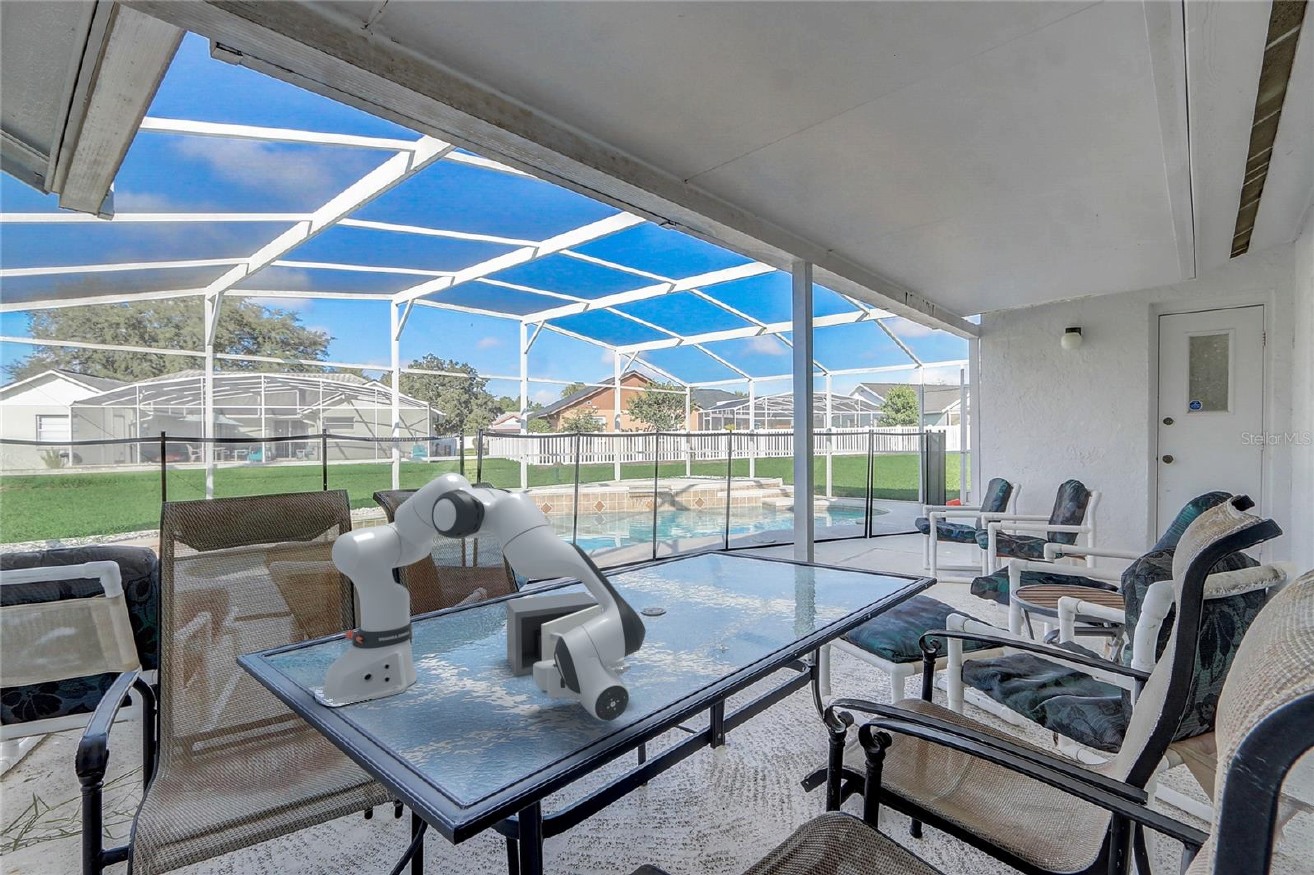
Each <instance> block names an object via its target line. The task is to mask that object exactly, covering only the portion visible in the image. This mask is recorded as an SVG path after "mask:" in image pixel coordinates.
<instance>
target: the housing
mask: <svg viewBox="0 0 1314 875" xmlns="http://www.w3.org/2000/svg"><path fill="white" fill-rule="evenodd" d="M596 605H600V604H599V603H598V601H597V600H596V599H595V598H594V597H593V596H591V595H589V594H588V593H586V592H585V591H581V592H579V591H578V592H572V593H570V592H569V593H563V594H553V595H551V594H550V595H544V596H535V597H527V598H516V599H508V600H506V645H507V646H506V654H507V656H506V657H507V658H506V659H507V662H508V664H509V665H510V667H511V670H512V671H513V673H514V675H515V677H522V676H529V675H533V665H534V663H536V662H540V661H542V632H541V624H544V623H547V622H550V621H553V620H556V619H558V618H561V617H564V616H567V615H570V614H573V613H576V612H579V611H582V610H584V609H587V608H590V607H593V606H596Z"/></svg>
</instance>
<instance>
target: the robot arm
mask: <svg viewBox="0 0 1314 875" xmlns="http://www.w3.org/2000/svg"><path fill="white" fill-rule="evenodd" d="M438 535H440V536H442V537H444V538H448V539H455V540H459V539H477V538H480V539H481V538H484V537H492V536H494V537H495V539H497V542H498V544H499V546H500V548H501V551H502V553H503V555H504V557H505V558H506V561H508V564H509V566H510V567H511V568H512V570H513V571H514V572H515V574H517V575H519V576H521V577H523V578H526V579H530V580H548V579H556V578H571V579H576V580H578V581H579V582H581V583H582V584H583V585H584V586H585V587H586V589H587V590H588V592H590V594H591V595H592V597H593V599H595V600H596V601H597V602H598V603H599V605H601V606H602V613H601V614H600V615H598V616H596V617H594V618H592V619H591V620H589V621H587V622H585V623H584V624H582V625H579V626H577V627H575V628H574V629H572V630H570V631H568V632H567V633H565V634H563V635H562V636H560V637H559V638H558V640H557V643H556V647H555V651H554V659H553V660H547V661H540V662H536V663H534V665H533V674H532V676H533V677H532V679H533V681H534V683H535V684H536V685H537V687H538V688H540V690H542V691H544V692H546V694H547V698H549V699H571V700H578V701H579V702H580V704H581V705H582V707H583V708H584V709H585V710H586V711H587V712H588V713H589V715H591V716H592V717H594V718H595V719H597V720H599V721H601V722H610V721H613V720H616V719H618V718H619V717H620V716H621V715H623V714H624V713H625V711H626V709H627V707H628V705H629V703H630V702H629V701H630V693H629V689H628V688H627V686H626V684H625V683H624V681H623V679H622V678H621V676H623V675H624V674H625V673H626V672H628V670H631V667H632V666H631V664H630V663H629V662H628V661H627V662H626V661H625V658H626V657H629V656H631V655H632V654H634V653H636V652H638V651H640V650H641V647H642V646H643V643H644V640H645V637H646V627H645V625H644V622H643V620H642V618H641V617H640V615H639V614H638V612H637V611H635V609H634V608H633V607H632V606H631V605H630V604H629V603H628V602H627V601H626V600H625V599H624V598H623V596H622V595H621V594H620V593H619V592H618V591H617V590H616V588H615V587H614V586H613V584H612V583H611V582H610V581H609V579H608V578H607V577H606V575H605V574H604V573H603V572H602V571H601V569H600V568H599V567H598V566H597V565H596V563H595V562H594V561H593V560H592V559H591V557H590V556H589V555H588V554H587V553H586V551H584V549H583V548H581V547H580V546H579V545H578V544H577V543H575V542H567V541H565V540H563V539H561V538H560V537H559V536H557V535H556V533H555V531H553V529H552V527H551V526H550V524H549V521H547V518H546V517H545V515H544V514H543V512H542V511H541V509H540V508H539V507H538V505H537V504H536V502H535V501H533V499H532V498H531V497H530V496H529V495H528V494H527V493H526V492H522V491H511V490H508V489H505V488H489V487H477V488H474V487H473V485H472V484H471V482H470V481H469V479H467V478H466V476H464V475H462V474H461V473H456V472H447V473H444V474H441V475H440V476H438V477H436V478H434V479H432V480H431V481H429V482H427V483H426V484H425V485H423V486H422V487H421V488H419V489H418V490H417V491H416V492H415V493H413V494H412V495H411V496H409V498H407V499H406V500H405V501H404V502H402V503H401V504H400V505H398V507H397V508H396V510H395V512H394V521H393V522H390V523H387V524H382V525H374V526H366V527H360V528H357V529H354V530H351V531H348V532H345V533H342V534H341V535H339V536H338V537H337V538H336V539H335V541H334V543H333V545H332V549H331V559H332V562H333V564H334V566H335V568H336V569H337V570H338V571H339V572H340V573H341V574H343V575H345V576H347V577H348V578H349V579H350V580H351V582H352V583H353V585H354V586H355V588H356V591H357V594H358V598H359V608H360V627H359V629H358V630H356V632H355V631H354V630H351V629H349V630H347V631H346V633H345V634H344V636H345V638H346V639H348V641H349V640H350V641H351V642H352V646H350V647H349V648H348V649H347V650H345V652H344V653H343V654H342V655H340V656H339V657H338V658H337V659H336V660H335V661H334V662H332V663H331V664H330V665H329V667H327V670H326V674H325V680H324V684H323V685H322V686H323V687H322V686H321V687H322V688H319V687H318V688H319V689H317V688H316V689H317V690H323V692H322V693H318V694H324V697H322V698H320V699H326V700H329V699H333V701H331V702H326V703H333V704H338V703H351V702H358V701H362V700H367V701H369V700H368V699H372V700H376V699H381V698H384V697H385V698H386V697H389V696H392V695H397V694H398V695H399V694H401V693H404V692H406V691H407V689H408V687H410V686H411V685H413V684H414V683H415V682H416V681H417V680H418V675H417V673H416V672H417V671H416V669H415V665H414V660H413V653H412V642H413V627H412V623H413V622H411V620H410V619H411V616H410V615H411V613H410V612H411V611H410V610H411V608H410V607H411V606H410V605H411V604H410V602H411V601H410V598H411V596H410V595H411V594H410V591H408V588H406V587H405V586H403V585H402V584H400V583H397V582H396V581H395V578H394V576H393V572H392V570H393V569H395V568H399V567H405V566H410V565H412V564H415V563H417V562H419V561H421V560H423V559H425V558H427V557H428V556H429V555H430V553H431V552H432V550H433V544H434V538H436V537H437V536H438Z"/></svg>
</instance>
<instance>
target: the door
mask: <svg viewBox="0 0 1314 875" xmlns="http://www.w3.org/2000/svg"><path fill="white" fill-rule="evenodd" d="M602 612H603V608H602V606H601V605H600V604H599V605H596V606H593V607H590V608H587V609H584V610H582V611H579V612H576V613H573V614H570V615H567V616H564V617H561V618H558V619H556V620H553V621H550V622H547V623H544V624H541V632H542V661H547V660H553V659H554V651H555V647H556V643H557V640H558V638H559V637H560V636H562V635H563V634H565V633H567V632H568V631H570V630H572V629H574V628H575V627H577V626H579V625H582V624H584V623H585V622H587V621H589V620H591V619H592V618H594V617H596V616H598V615H600V614H601V613H602Z"/></svg>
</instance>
